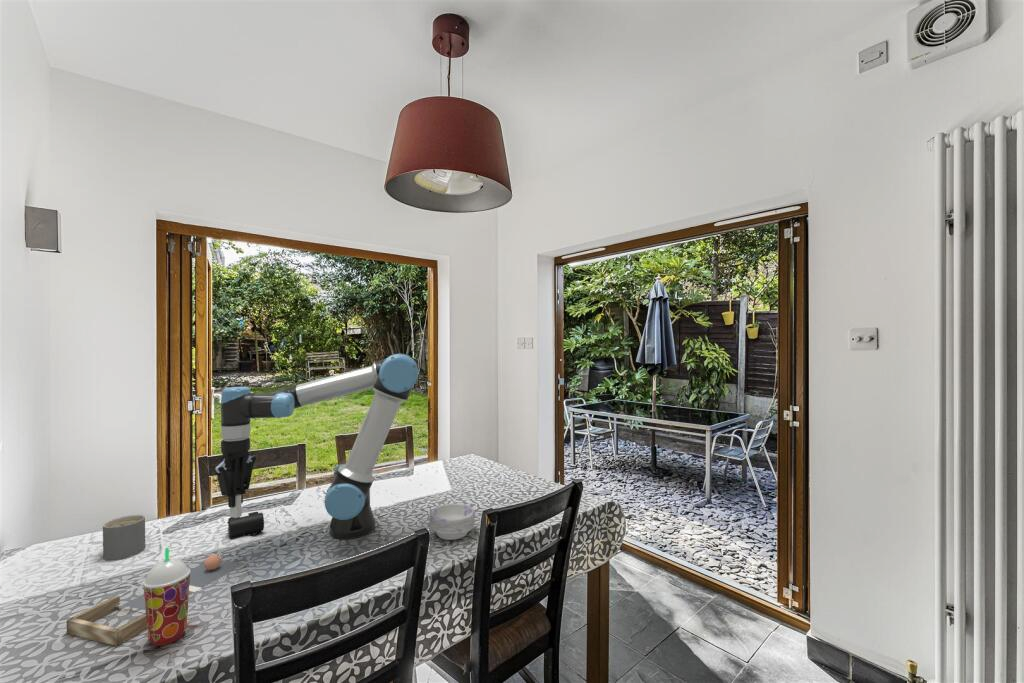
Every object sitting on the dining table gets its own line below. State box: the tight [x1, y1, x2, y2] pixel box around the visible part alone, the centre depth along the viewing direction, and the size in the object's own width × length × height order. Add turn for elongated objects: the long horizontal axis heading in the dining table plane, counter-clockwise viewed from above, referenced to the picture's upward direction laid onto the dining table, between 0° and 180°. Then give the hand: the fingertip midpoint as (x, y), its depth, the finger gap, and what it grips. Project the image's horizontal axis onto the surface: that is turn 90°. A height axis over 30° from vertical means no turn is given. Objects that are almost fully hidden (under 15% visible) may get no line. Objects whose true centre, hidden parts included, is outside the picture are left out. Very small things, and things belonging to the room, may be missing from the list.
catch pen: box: [66, 595, 148, 647], centre depth 103 cm, size 16×10×3 cm, turn 74°
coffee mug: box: [102, 514, 146, 561], centre depth 140 cm, size 13×10×10 cm
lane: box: [122, 559, 245, 615], centre depth 119 cm, size 12×24×1 cm, turn 164°
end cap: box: [227, 511, 265, 539], centre depth 150 cm, size 10×7×7 cm
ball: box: [203, 554, 222, 570], centre depth 126 cm, size 4×4×4 cm
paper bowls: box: [429, 503, 476, 541], centre depth 149 cm, size 15×15×8 cm
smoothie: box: [142, 547, 191, 647], centre depth 98 cm, size 8×8×20 cm
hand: (235, 516), depth 133 cm, fingers closed
